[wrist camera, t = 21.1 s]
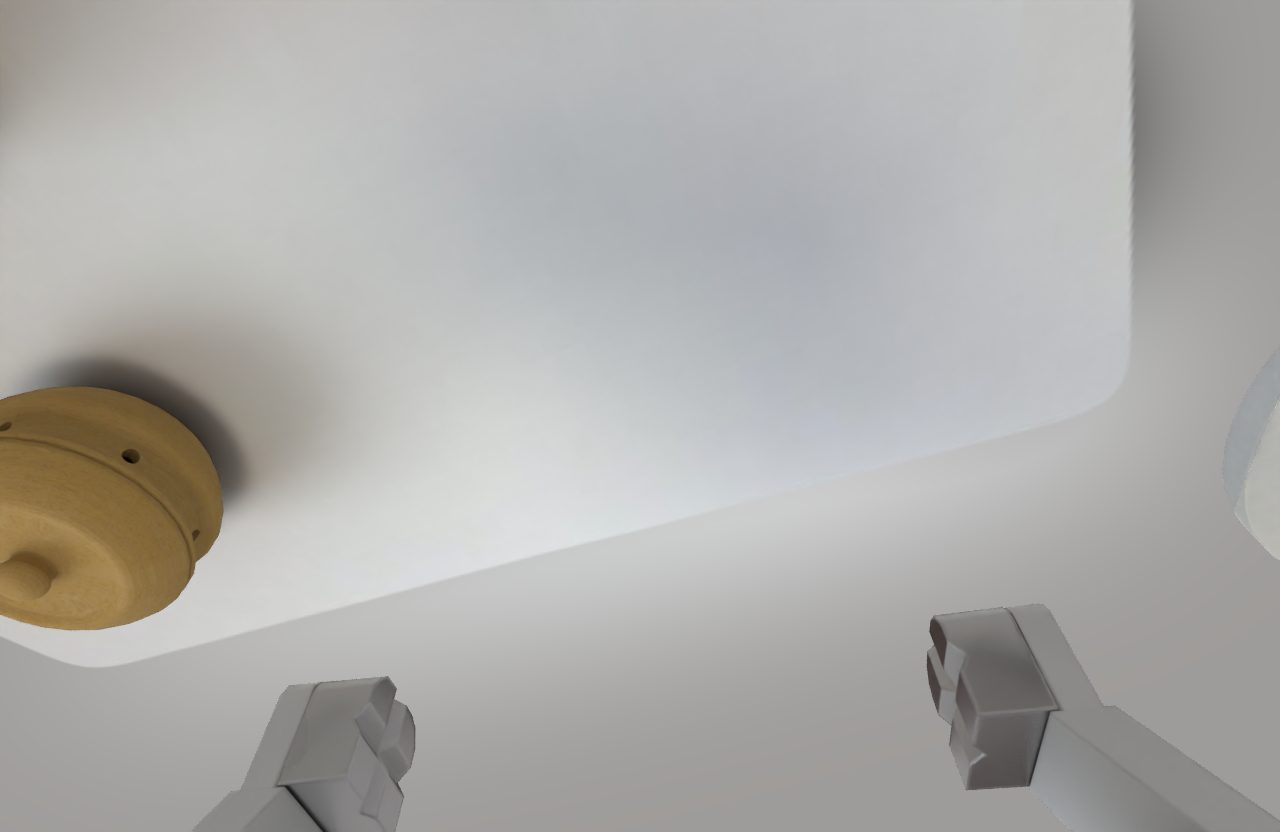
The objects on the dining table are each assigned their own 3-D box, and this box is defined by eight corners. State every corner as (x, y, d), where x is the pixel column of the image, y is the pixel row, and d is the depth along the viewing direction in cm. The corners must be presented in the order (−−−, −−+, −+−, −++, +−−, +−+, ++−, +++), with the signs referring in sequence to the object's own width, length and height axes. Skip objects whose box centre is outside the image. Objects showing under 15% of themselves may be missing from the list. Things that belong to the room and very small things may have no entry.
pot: (-7, 324, 36) (-190, 459, 28) (252, 387, 39) (152, 528, 30) (27, 500, 43) (-113, 649, 35) (247, 544, 45) (163, 694, 37)
